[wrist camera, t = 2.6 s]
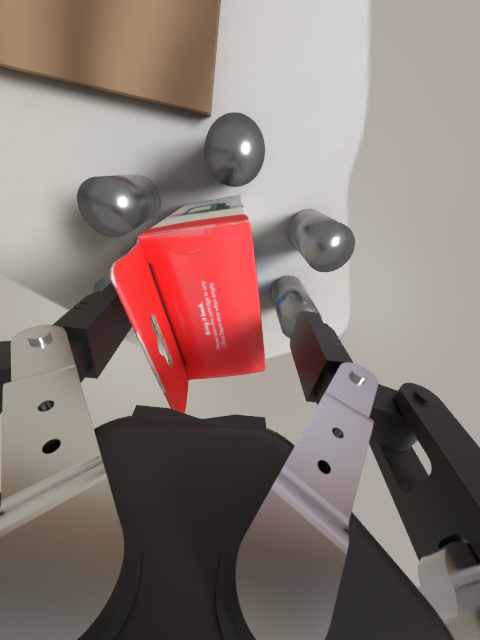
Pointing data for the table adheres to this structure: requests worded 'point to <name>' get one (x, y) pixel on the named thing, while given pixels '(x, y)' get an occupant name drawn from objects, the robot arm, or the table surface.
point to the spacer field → (232, 170)
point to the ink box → (194, 295)
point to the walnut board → (117, 46)
